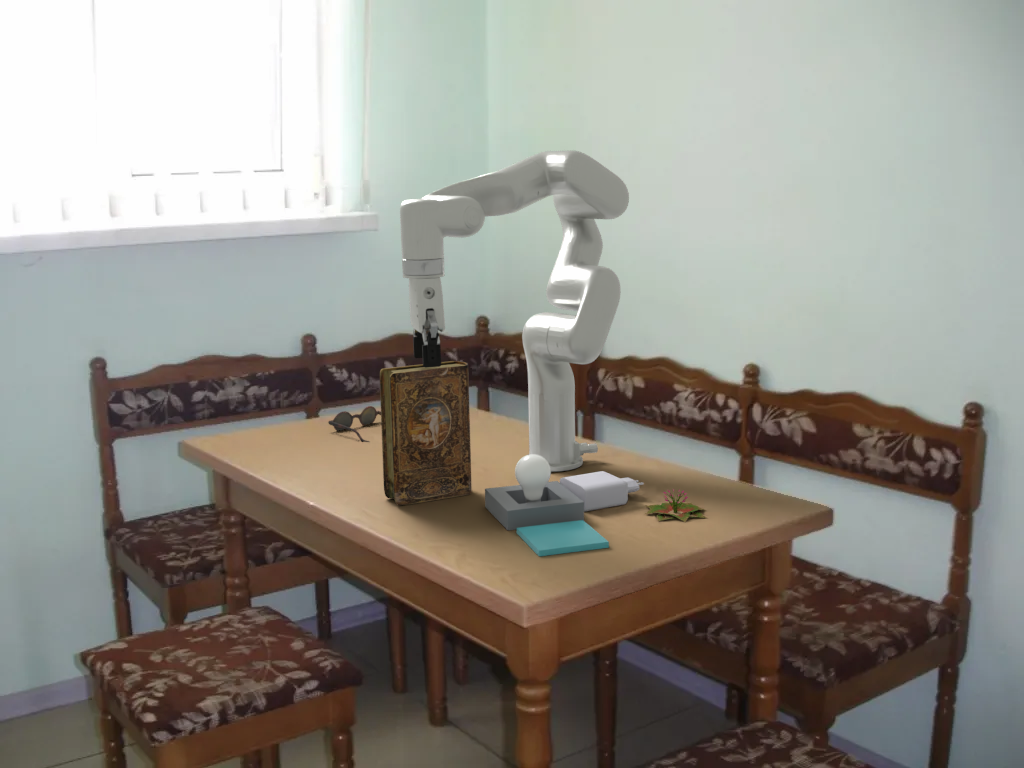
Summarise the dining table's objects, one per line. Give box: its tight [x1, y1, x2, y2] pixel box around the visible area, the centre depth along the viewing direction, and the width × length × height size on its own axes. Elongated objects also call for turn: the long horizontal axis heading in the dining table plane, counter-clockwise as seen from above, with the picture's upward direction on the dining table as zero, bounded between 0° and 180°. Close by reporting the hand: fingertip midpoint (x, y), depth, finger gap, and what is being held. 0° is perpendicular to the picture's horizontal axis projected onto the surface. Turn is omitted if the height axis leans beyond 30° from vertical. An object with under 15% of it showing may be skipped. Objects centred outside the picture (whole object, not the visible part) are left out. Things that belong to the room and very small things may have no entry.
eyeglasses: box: [327, 405, 381, 443], centre depth 266 cm, size 15×15×5 cm
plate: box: [516, 520, 610, 557], centre depth 189 cm, size 12×12×1 cm
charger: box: [559, 470, 645, 513], centre depth 210 cm, size 5×9×15 cm
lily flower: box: [644, 489, 708, 523], centre depth 202 cm, size 12×12×5 cm
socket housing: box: [484, 480, 585, 531], centre depth 203 cm, size 14×14×4 cm
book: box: [379, 360, 473, 506], centre depth 212 cm, size 16×6×25 cm, turn 117°
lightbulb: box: [514, 454, 552, 503], centre depth 202 cm, size 6×6×11 cm
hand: (427, 362), depth 207 cm, fingers open, 9 cm apart
